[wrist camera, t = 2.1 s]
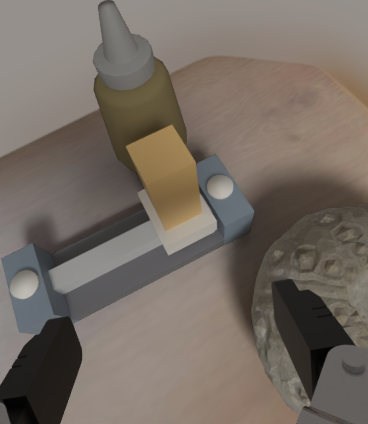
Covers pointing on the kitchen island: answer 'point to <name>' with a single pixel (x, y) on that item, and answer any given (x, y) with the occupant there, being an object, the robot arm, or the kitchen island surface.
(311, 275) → the decorative shell
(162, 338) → the kitchen island surface
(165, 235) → the carriage
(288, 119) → the kitchen island surface
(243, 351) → the kitchen island surface
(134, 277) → the rail bed
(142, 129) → the squeeze bottle
